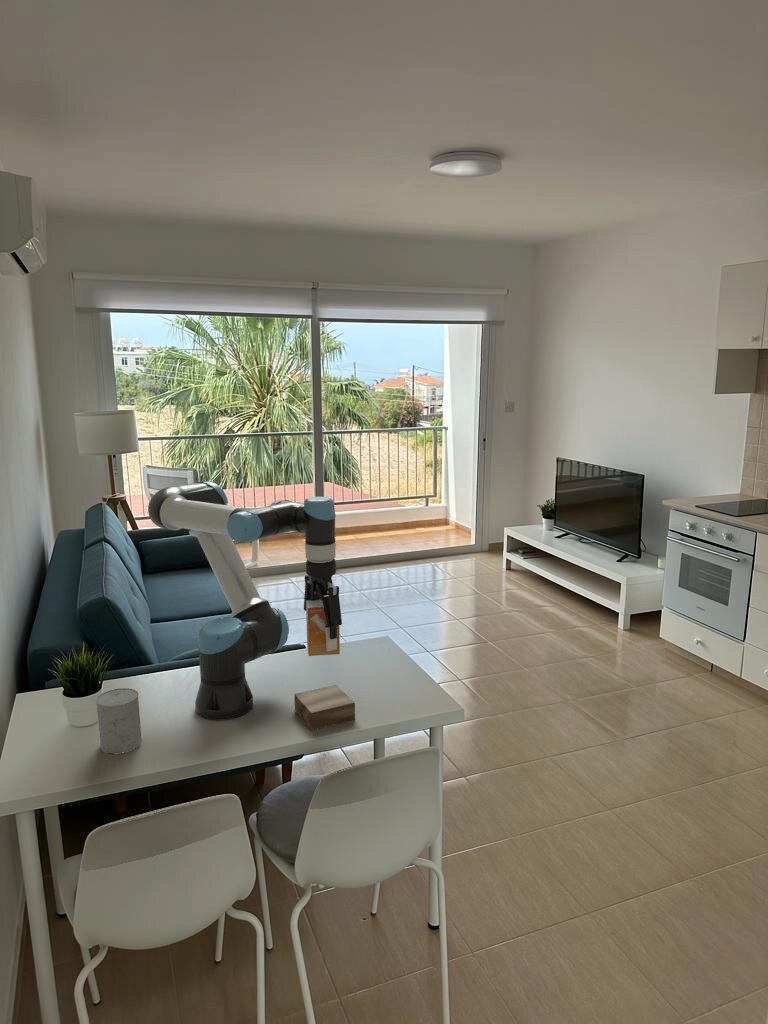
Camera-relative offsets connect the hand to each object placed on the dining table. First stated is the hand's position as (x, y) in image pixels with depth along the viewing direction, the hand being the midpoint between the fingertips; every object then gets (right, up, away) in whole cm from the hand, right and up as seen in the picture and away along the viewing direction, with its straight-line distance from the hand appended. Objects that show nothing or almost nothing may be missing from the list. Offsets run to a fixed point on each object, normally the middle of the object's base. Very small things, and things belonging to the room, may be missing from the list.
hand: (323, 644), depth 187 cm
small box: (0, -2, 0) cm, 2 cm away
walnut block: (0, -19, +4) cm, 20 cm away
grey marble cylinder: (-48, -23, -10) cm, 54 cm away
